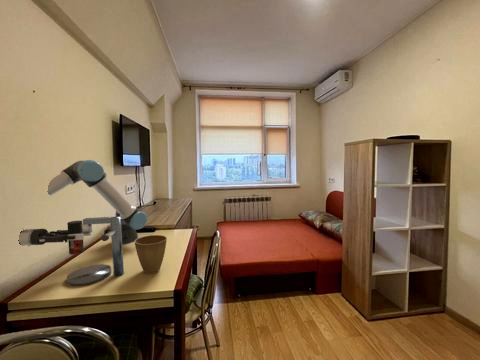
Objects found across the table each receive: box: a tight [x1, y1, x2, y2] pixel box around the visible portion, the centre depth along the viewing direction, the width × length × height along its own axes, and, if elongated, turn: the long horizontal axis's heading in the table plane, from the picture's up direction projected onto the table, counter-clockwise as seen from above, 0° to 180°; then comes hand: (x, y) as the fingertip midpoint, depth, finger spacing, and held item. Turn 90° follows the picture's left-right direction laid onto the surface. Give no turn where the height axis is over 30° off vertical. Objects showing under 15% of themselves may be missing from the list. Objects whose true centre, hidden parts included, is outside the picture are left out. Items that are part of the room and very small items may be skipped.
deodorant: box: [67, 220, 85, 255], centre depth 115 cm, size 6×6×15 cm
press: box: [66, 215, 125, 287], centre depth 111 cm, size 28×19×28 cm
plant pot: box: [134, 234, 168, 275], centre depth 118 cm, size 15×15×16 cm
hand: (86, 234), depth 116 cm, fingers closed on deodorant, 6 cm apart
